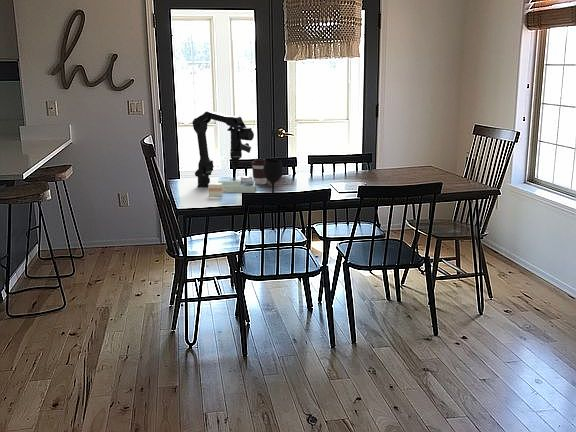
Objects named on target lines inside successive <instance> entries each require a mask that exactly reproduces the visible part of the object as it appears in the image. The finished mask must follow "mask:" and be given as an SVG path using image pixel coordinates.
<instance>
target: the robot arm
mask: <svg viewBox="0 0 576 432" xmlns="http://www.w3.org/2000/svg"><path fill="white" fill-rule="evenodd" d="M212 120H214V121H217V122H221V123H224V124H226V125H227V126H228V127H229V128H227V132H228V131H229V132H230V152H229V153H230V154H229V155H230V159H231V162H232V165H233V166H234V168H235V169H238V166H239V162H240V161H239V160H240V159H241V158H242V157H243V154H242V153H243V152H242V151H244V152H246V153H248V154H250V153H251V150H252V146H250V145H249V143H247V142H246V143H242V141H253V140H254V136H255V133H254V131H253V130H252V127H247V126H246V125H245V123H244V121H243V118H242V116H240V115H226V114H223V113H219V112H215V111H212V110H208V111H205V112H204V113H202V114H201V115H199V116H198V117H196V118H193V120H192V123H191V124H192V128H193V130H194V132H195V133H196V136H197V143H198V152H199V161H198V164H197V165H198V167H197V169H196V170H195V172H194V176H195V177H197V188H208V184H209V183H211V177H210V176H211V175H212V172H213V170H214V167H215V166H214V161H213V160H211V159H210V157H209V149H208V143H207V135H206V132H207V129H208V124H209V123H210V122H211V121H212Z"/></svg>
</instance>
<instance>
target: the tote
mask: <svg viewBox="0 0 576 432" xmlns="http://www.w3.org/2000/svg"><path fill="white" fill-rule="evenodd" d="M217 183H222V193H255V192H256V184H255V181H254V180H253V186H241V180H218V181H217Z"/></svg>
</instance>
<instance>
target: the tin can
mask: <svg viewBox="0 0 576 432" xmlns="http://www.w3.org/2000/svg"><path fill="white" fill-rule="evenodd" d="M240 181H241V186H253V181H254V179H253V176H249V175H245V176H243V175H242V176H240Z"/></svg>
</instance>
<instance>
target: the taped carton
mask: <svg viewBox="0 0 576 432" xmlns="http://www.w3.org/2000/svg"><path fill="white" fill-rule="evenodd" d="M207 189H208V190H207V191H208V192H207V193H208V197H222V196H223V192H222V183H218V182H210V183H209V184H208V187H207Z"/></svg>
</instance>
